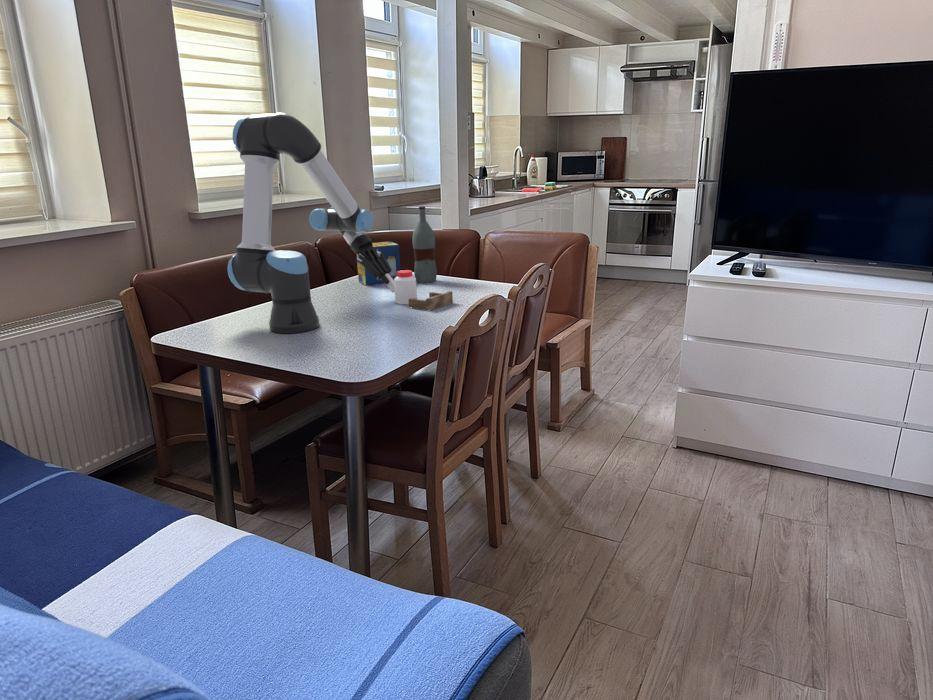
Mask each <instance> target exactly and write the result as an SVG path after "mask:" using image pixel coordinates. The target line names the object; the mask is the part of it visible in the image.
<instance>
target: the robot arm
mask: <svg viewBox="0 0 933 700" xmlns="http://www.w3.org/2000/svg"><path fill="white" fill-rule="evenodd" d="M232 143H233V145H235V146H234V147H235V149H236V150H237V151H238V153H239V158H240V160H242V162H243V163H244V179H243V181H244V182H243V204H242V205H243V206H242V226H241V227H242V232H241V242H240V243H239V244H238V245H237V246H236V252H235V254H234V255H231V259H229V260H228V262H227V263H228V264H227V274H228V277H229V279H230V282H231V283H232V284H233V285H234V287H236V288H237V289H239V290H241V291H246V292H248V293H264V294H271V302H272V307H271V312H270V318H269V322H268V325H269V330H271V332H272V331H274V332H273V333H275V332H277V334H297V333H303V332H308V331H312V330H315V329H317V328H318V327H319V326H320V324H321V323H320V319H319V316H318V314H317V312H316V309H315V306H314V305H313V302H312V296H311V285H310V274H309V266H308V262H307V258H306V256H305V254H304V253H301V252H299V251H295V250H283V249H281V250H280V249H279V250H276V249H275V248H274V247H273V246H272V244H271V243H272V221H273V220H272V217H273V200H274V199H273V198H274V197H273V193H274V176H275V175H274V174H275V173H274V171H275V167H276V166H277V165H278V164H280V154H281V155H282V154H285V155H287V156H289V157H291V158H292V159H293V161H294V162H295V163H296V164H299V165H301V166H302V168H303V169H304V170H305V172H306V173H307V175H308V176H309V177H310V179H311V180H312V182H313V183H314V184H315V186H317V188H318V190H319V191H320V192H321V194H322V195H323V196H324V197H325V199H326V201H327V202H328V203H329V205H330V206H331V207H330V208H315V209H313V210H312V211H311V212H310V214H309V220H308V221H309V223H310V224H309V225H310V226H311V227H312V228H313V230H316V231H320V232H325V231H328V232H329V231H330V232H335V231H336V232H339V234H340V235H341V236H342V238H344V240H345V242H346V243H347V244H348V245H349V246H350V249H351V250H352V251H353V252H354V254H355V255H356V256H357V255H358V258H357V257H356V259H355V261H356V263H357V262H359V263H360V264H362V265H363V266H364V267H365V268H366V269H367V270H368V271H369V272H370V273H371V274H372V275H373V276H374V277H375V278H377V277H379V278H378V279H379V280H381V279H382V281H383V282H384V283H385V284H384V285H386V286H387V288H388V290H390V291H391V293H395V287H394V279H393V278H392V276H391V275H390V272H391V271H392V270H391V268H390V266H389V264H388V262H387V260H386V258H385V256H384V252H383V251H382V250H381V251H377V250H376V248H374V247H373V245H372V243H373V241H372V239H371V237H369V235H367V233H366V232H368V231H370V230H371V229H372V226H373V224H374V217H373V214H372V212H371V211H370V210H368V209H364V208H360V206H359V204H357V201H356V200H355V199H354V197H353V196H352V194H351V193H350V191H349V190H348V189H347V187H346V186H345V185H344V182H343V181H342V179H341V177H339V175H338V174H337V172H336V171H335V169H334V167H333V166H332V165H331V163H330V162H329V160H328V159H327V157H326V156H325V154H324V153H323V151H322V145H321V144H322V143H320V141H319V139H318V138H317V137H316V135H315V133H313V132H312V131H311V129H310V128H308V127H307V125H305V124H304V123H303V122H302V121H300V120H299V119H298V118H296V117H294V116H293V115H290V114H288V113H285V112H276V113H261V114H257V113H256V114H255V113H254V114H253V113H252V114H249V115H246V116H242V117H241V118H240V119H238V120H237V121H236V122H235V124H234V126H233V129H232ZM375 273H376V274H375Z"/></svg>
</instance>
